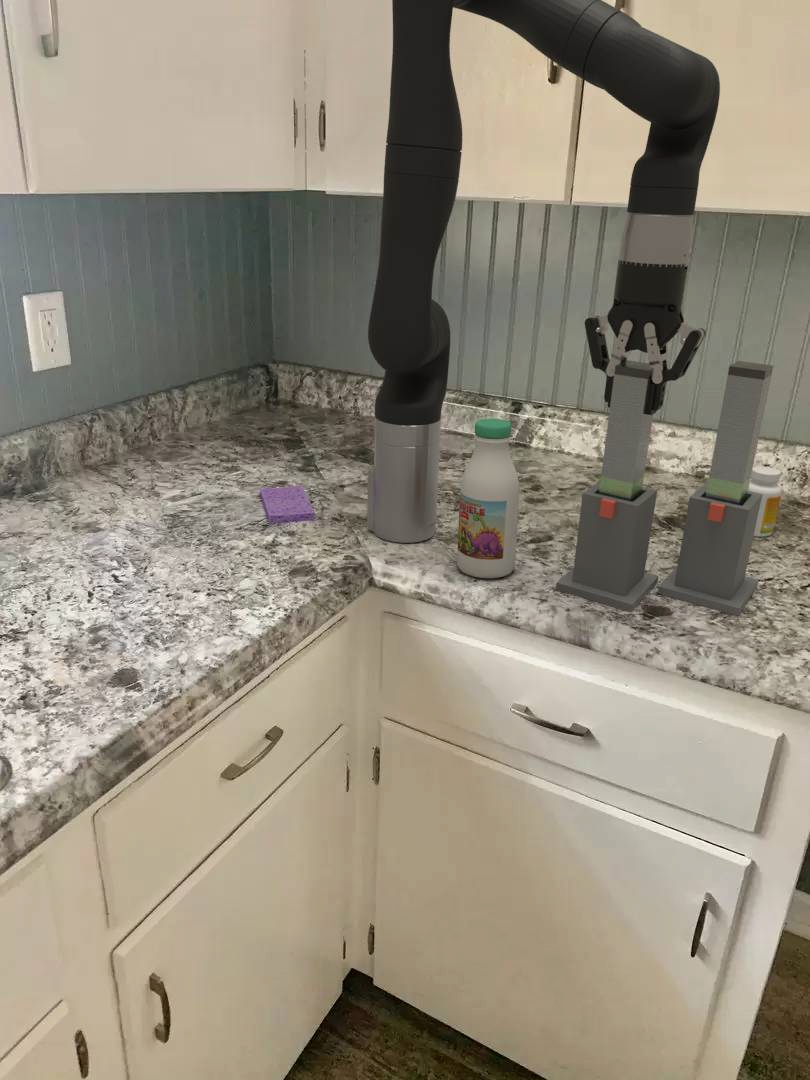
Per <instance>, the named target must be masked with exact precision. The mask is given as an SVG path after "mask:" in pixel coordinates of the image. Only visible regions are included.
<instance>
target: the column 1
mask: <svg viewBox="0 0 810 1080" xmlns="http://www.w3.org/2000/svg"><path fill="white" fill-rule="evenodd" d="M651 370H652V369H651V365H650V363H649V362H642V361H634V360H628V359H627V361H626V362H623V363H621V364H619V365H616V366H615V373H614V380H613V388H612V396H611V403H610V408H609V410H608V411H609V413H608V421H607V428H606V436H605V441H604V442H605V443H604V449H603V450H604V451H603V458H602V466H601V474H600V479H599V482H600V487H599V494H600V495H604V496H609V497H613V498H618V499H622V500H626V501H631V502H634V501H635V500H636V499H637V498H639V497H640V496H641V492H642V487H644V479H645V472H646V471H645V469H646V465H647V458H648V451H649V444H650V437H651V431H652V427H653V426H652V424H653V419H654V414H653V415H648V414H646V406H647V399H648V392H649V386H650V383H652V374H651Z"/></svg>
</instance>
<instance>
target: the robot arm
mask: <svg viewBox="0 0 810 1080" xmlns="http://www.w3.org/2000/svg"><path fill="white" fill-rule="evenodd" d="M391 3H392V4H391V6H392V7H391V9H392V55H391V56H392V57H391V72H390V89H389V90H390V91H389V108H388V109H389V110H388V120H387V121H388V122H387V124H388V125H387V134H386V141H385V143H386V144H385V155H384V156H385V157H384V169H383V188H382V189H383V190H382V191H383V193H382V206H381V207H382V208H381V219H380V221H381V222H380V223H381V224H380V240H379V241H380V243H379V258H378V267H377V273H376V280H375V285H374V292H373V299H372V302H371V309H370V315H369V318H368V319H369V321H368V329H367V340H368V341H367V342H368V345H369V350H370V353H371V354H372V357H373V358H374V360H375V361H376V363H377V364H378V365H379V366H380V367H381V368H382V369H383V370H384V376H383V381H382V384H381V386H380V388H379V390H378V392H377V395H376V397H375V399H374V400H375V401H374V450H373V452H374V453H373V456H374V457H373V465H372V466H370V467H369V468H368V470H367V515H366V516H367V517H366V518H367V521H366V526H367V528H366V529H367V530H368V531H371V532H373V534H374V535H375V536H377V537H378V538H380V539H383V540H385V541H388V542H393V543H401V544H402V543H405V544H409V543H418V542H423V541H426V540H429V539H431V538H432V537H434V536H435V534H436V529H437V528H436V527H437V508H438V493H439V492H438V489H439V488H438V487H439V486H438V485H439V472H440V471H439V469H440V468H439V467H440V450H441V448H440V447H441V446H440V445H441V425H442V421H441V420H442V410H443V409H442V407H443V403H444V401H445V397H446V394H447V388H448V379H449V369H450V368H449V367H450V353H451V328H450V327H451V325H450V321H449V318H448V315H447V314H446V312H445V310H444V308H443V307H442V306H441V305H440V304H439V303H438V302H437V301H436V300H434V299H433V298H432V297H433V282H434V281H433V279H434V273H435V265H436V261H437V258H438V252H439V250H440V248H441V243H442V241H443V237H444V235H445V233H446V230H447V227H448V225H449V221H450V218H451V215H452V212H453V209H454V205H455V201H456V196H457V191H458V187H459V181H460V170H461V161H462V154H463V153H462V151H463V124H462V117H461V116H462V114H461V111H460V110H461V109H460V103H459V99H458V94H457V91H456V86H455V82H454V77H453V71H452V64H451V63H452V62H451V52H450V51H451V50H450V49H451V48H450V46H451V44H450V43H451V30H452V19H453V9H458V10H460V11H461V10H462V11H465V12H468V13H472V14H475V15H477V16H480V17H484V18H486V19H489V20H491V21H494V22H495V23H498V24H499V25H502V26H503V27H506V28H507V29H509V30H511V31H513V32H514V33H516V34H517V35H518V36H519V37H521V38H522V39H524V40H525V41H526V43H527V42H528V43H529V44H530V45H531V46H532V47H534V48H535V49H536V50H537V51H538V52H540V53H541V54H543V55H544V56H545V57H546V58H548V59H550V60H551V61H552V62H554V63H555V64H557V65H558V66H560V67H561V68H563V69H565V70H567V71H568V72H569V73H571V74H573V75H575V76H576V77H577V78H580V79H582V80H583V81H585V82H587V83H588V84H590V85H592V86H594V87H596V88H599V89H601V90H603V91H604V92H606V93H607V94H608V95H610V96H611V97H612V98H614V100H616V101H618V102H619V103H620V104H622V105H623V106H624V107H626V108H627V109H628V110H629V111H631V112H633V113H634V114H635V115H637V116H639V117H641V118H642V119H644V120H646V121H648V122H649V123H650V124H649V125H650V126H649V131H648V137H647V140H646V144H645V145H646V146H645V149H644V153H642V155H641V156H640V157H639V158H638V159H637V160H636V162H635V163H634V166H633V169H632V173H631V178H630V187H629V194H628V201H627V209H626V212H627V213H626V214H625V220H624V224H623V228H622V231H621V238H620V245H619V252H618V260H617V262H618V263H617V269H616V275H615V276H616V277H615V283H614V284H615V285H614V292H613V303H612V306H611V308H610V310H608V312H607V314H604V315H601V316H600V315H594V316H591V317H588V318H586V319H585V320H584V328H585V333H586V338H587V343H588V349H589V354H590V359H591V364H592V365H591V366H592V367H593V368H594V369H597V370H600V371H602V372H603V373H604V374H605V376H606V381H605V386H604V388H605V389H604V394H603V400H604V402H605V403H607V408H609V409H610V403H611V396H612V388H613V380H614V373H615V366H616V365H619V364H621V363H623V362H626V361H627V360H628V358H629V357H630V356H631V354H632V352H633V351H636V350H638V351H640V352H642V353H646V354H647V360H648V363H650V365H651V369H652V370H651V374H652V383H650V386H649V392H648V399H647V406H646V414H648V415H653V416H654V414H656V413H657V411H659V410H661V409H662V407H663V405H664V399H665V393H666V387H667V383H668V382H670V381H677V380H679V379H680V378H682V377H685V375H686V373H687V371H688V370H689V367H690V366H691V364H692V362H693V360H694V358H695V356H696V353H697V352H698V350H699V348H700V347H701V344H702V342H703V340H704V339H705V338H706V330H705V329H704V328H702V327H698V328H696V327H695V326H692V325H691V324H688V323H685V319H684V315H683V313H682V307H683V302H684V301H683V300H684V295H685V294H684V293H685V288H686V281H687V277H688V270H689V263H690V259H691V255H692V246H693V245H692V244H693V234H694V232H693V231H694V218H695V217H694V214H695V209H696V202H697V197H698V192H699V191H698V188H699V184H700V183H699V181H700V171H701V167H702V164H703V161H704V158H705V155H706V152H707V149H708V146H709V143H710V140H711V136H712V132H713V129H714V125H715V122H716V118H717V114H718V109H719V103H720V95H721V83H720V75H719V73H718V70H717V68H716V65H714V63H713V62H712V61H711V60H710V59H709V58H707V57H706V56H704V55H702V54H700V53H697V52H695V51H694V50H691V49H689V48H687V47H685V46H683V45H681V44H678V43H676V42H674V41H672V40H671V39H669V38H666V37H664V36H663V35H660V34H658V33H655V32H654V31H651V30H650V29H647V28H645V27H643V26H642V25H641V24H640V23H639V21H637V20H636V19H634V18H633V17H632V16H630V15H629V14H627V13H625V12H623V11H622V10H620V9H618V8H616V7H614V6H613V5H611V4H609V3H607V2H605V1H604V0H391ZM609 326H610V327H611V330H612V332H613V333H614V336H615V337H616V341H615V343H614V346H613V348H612V351H611V354H610V355H611V356H609V349H608V346H607V345H608V344H607V339H606V333H607V332H608V329H609ZM678 333H679V334H680V338H679V343H680V344H681V346H682V347H681V349H680V351H679V352H678V355H677V357H676V358H675V360H674V361H673V362H674V363H673V364H672V366H671V368H669V355H670V354H669V347H668V346H669V345H668V343H669V342H670V341H672V339H673V338H674V337H675V336H676V335H677V334H678Z"/></svg>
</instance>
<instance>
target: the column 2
mask: <svg viewBox="0 0 810 1080" xmlns="http://www.w3.org/2000/svg"><path fill="white" fill-rule="evenodd" d="M773 371H774V365H773V364H772V365H771V364H766V363H765V364H763V363H757V362H749V361H741V360H737V361H736V362H734V363H732V364H731V365H729V366H728V371H727V378H726V382H725V388H724V393H723V399H722V404H721V410H720V415H719V420H718V421H719V422H718V427H717V431H716V432H717V433H716V438H715V443H714V448H713V453H712V459H711V465H710V469H709V475H708V480H707V483H708V484H707V490H706V496H705V498H708V499H713V500H717V501H722V502H727V503H731V504H736V505H740V506H743V505H744V503H745V502H746V498H747V493H748V489H749V484H750V480H751V473H752V468H753V467H754V462H755V457H756V454H757V447H758V444H759V443H758V442H759V439H760V434H761V429H762V423H763V418H764V414H765V409H766V405H767V400H768V394H769V389H770V386H771V385H770V383H771V380H772V374H773Z"/></svg>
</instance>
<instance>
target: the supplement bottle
mask: <svg viewBox="0 0 810 1080" xmlns="http://www.w3.org/2000/svg"><path fill="white" fill-rule="evenodd" d="M781 473H782V472H781V470H779V469H777V468H775V467H771V466H770V467H769V466H764V465H763V466H762V465H760V466H753V468H752V473H751V479H750V484H749V489H748V491H750V492H755V493H760V494H762V499H761V504H760V508H759V513H758V518H757V522H756V527H755V532H754V536H753V537H757V538H758V537H759V538H761V537H762V538H765V537H769V536H771V535H772V534H773V532H774V529H775V525H776V520H777V516H778V511H779V506H780V502H781V498H782V493H783V492H782V487H781V486H780V484H778V483H779V481H780V478H781Z"/></svg>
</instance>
